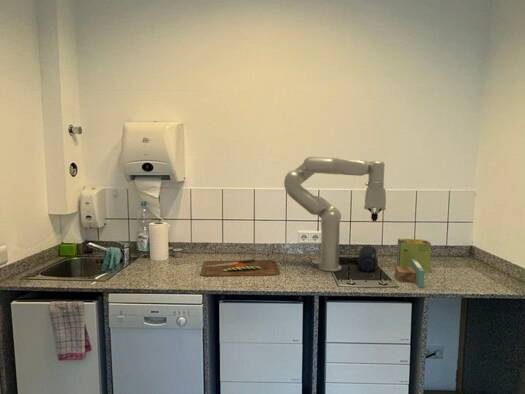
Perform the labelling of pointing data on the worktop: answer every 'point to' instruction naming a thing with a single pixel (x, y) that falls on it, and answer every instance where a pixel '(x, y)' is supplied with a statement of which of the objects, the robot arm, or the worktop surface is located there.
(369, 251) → the portable speaker
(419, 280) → the teal board
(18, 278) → the worktop surface
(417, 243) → the protein box
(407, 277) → the brown rectangular box
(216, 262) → the chopping board
